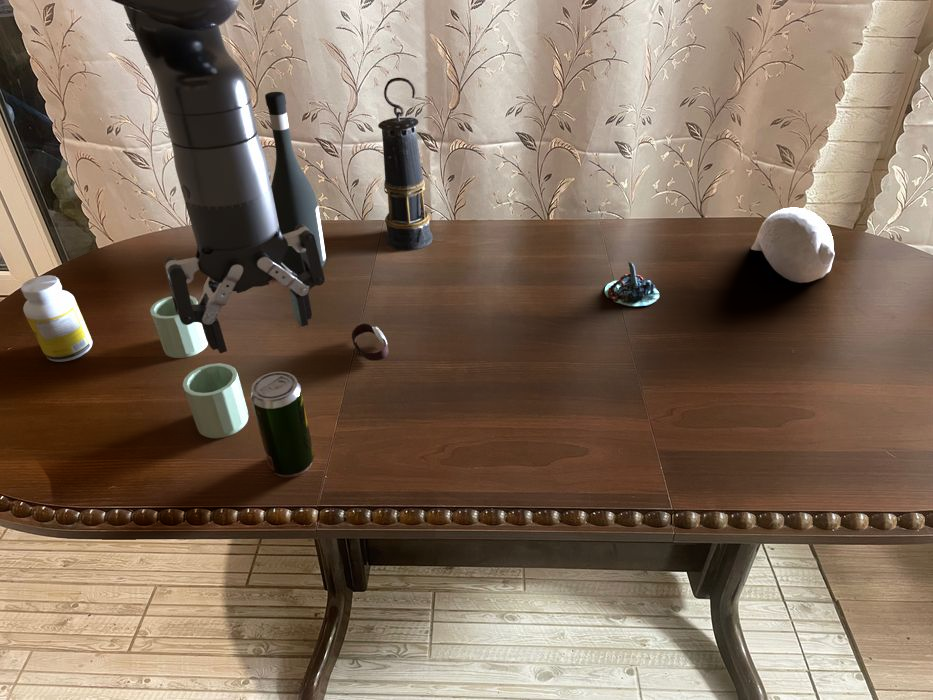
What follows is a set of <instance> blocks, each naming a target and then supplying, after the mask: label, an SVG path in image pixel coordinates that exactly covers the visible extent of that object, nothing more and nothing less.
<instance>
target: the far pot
mask: <svg viewBox="0 0 933 700" xmlns="http://www.w3.org/2000/svg"><path fill="white" fill-rule="evenodd" d="M189 296H190V301H191V304H198V302H199V301H198V300H197V298H196V297H194V296H192V295H189ZM149 313H150V316H151V319H152V322H153V324H154V328H155V330H156V333H157V336H158V339H159V341H160V345H161V348H162V350H163V353H164V354H165V355H166V356H167V357H169V358H173V359H185V358H186V359H187V358H189V357H193V356H196V355H198V354H200V353H201V352H203V351H204V350H205V349H207V347H208V346H209V344H208V342H207V340H206V337H205V334H204V330H203V327H202V324H201V323H198V322H193V323H192V324H190V325H184V324H183V323H182V322H181V320H180V317H179V315H178V314H177V312H176V310H175V306H174V302H173V298H172V295H170V296H166V297H163V298H161V299H159V300H157V301H156V302H154V303H153V304H152V305H151V307H150V310H149Z"/></svg>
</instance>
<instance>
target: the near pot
mask: <svg viewBox="0 0 933 700" xmlns="http://www.w3.org/2000/svg"><path fill="white" fill-rule="evenodd" d="M182 389H183V392H184V395H185V397H186V400H187V404H188V406H189V409H190V412H191V415H192V418H193V421H194V424H195V427H196V430H197V431H198V433H199V434H200V435H201V436H203V437H205V438H210V439H221V438H222V439H223V438H226V437H230V436H232V435H234V434H237V433H238V432H240V431H241V430H242V429H243V428H244V427H245V426H246V425H247V423H248V421H249V411H248V407H247V403H246V400H245V395H244V392H243V388H242V384H241V381H240V377H239V374H238V371H237V370H236V368H235V367H234V366H232V365H230V364H226V363H220V362H219V363H218V362H217V363H210V364H205V365H203V366H199V367H197V368H195V369H193V370H191V371H190V372H189V373H188V374H187V375H186V376H185V377H184V378H183V382H182Z"/></svg>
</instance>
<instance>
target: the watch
mask: <svg viewBox="0 0 933 700" xmlns="http://www.w3.org/2000/svg"><path fill="white" fill-rule="evenodd" d="M364 333H371V334H373V335H375V337H376V339H378V341H379V342H380V344H381V345H382V346H384V347H383V348H382V349H381V350H379V351H377V352H368V351H365V350H363V349H361V348H360V346H359V345H358V343H357V340H358V338H359V337H360V336H361V335H362V334H364ZM351 340H352V344H353V346H354V348H355V351H356V353H358V354H359V355H361V356H362V357H363V358H365V359H366V360H369V361H373V362H374V361H375V362H376V361H381V360H383V359H385V358H386V357H387V356H388V354H389V352H390V351H389V347H388V345H389V344H388V340H387V339H386V336H385V335H384V333H383V332H382V330H381V329H380V328H379V327H378V326H377V325H376V326H372V325H371V324H369V323H361V324H359V325H357V326H356V327H354V329H353V330H352V332H351Z"/></svg>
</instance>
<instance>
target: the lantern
mask: <svg viewBox="0 0 933 700" xmlns="http://www.w3.org/2000/svg"><path fill="white" fill-rule="evenodd" d="M395 82H404V83H407V84H408V85H409V86H410V88H411V91H412V93H411V94H412V96H411V98H412V99H416V88H415V86H414V84H413V83H412V82H411V81H410V80H409V79H407V78H405V77H393V78H391V79H389V80H388V81H387V82H386V83H385V86H384V89H383V96H384V100H385V101H386V103H387V104H388V105H389V106H391V107H393V114H394V115H395V116H396V117H391V118H387V119H383V120H382V121H381V122H379V123H378V124H377V125H378V126H377V127H378V129H380V130H381V137H382V149H383V150H382V152H383V167H384V183H383V186H384V187H383V191H384V193H385V194H387V204H388V206H387V208H388V213H387V214H386V216H385V218H384V223H385V226H386V235H385V242H386V244H387V245H388V246H389V247H390V248H393V249H395V250H402V251H414V250H415V251H416V250H420V249H424V248H427V247H428V246H429V245H431V244H432V242H433V238H434V237H433V233H432V231H431V226H430V219H431V216H430V214H429V213H428V212H427V211H426V209H425V200H424V199H425V198H424V191H425V189H426V185H425V183H426V182H425V179H424V176H423V169H422V164H421V158H420V150H419V143H418V136H417V135H418V134H417V126H418V125H419V123H420V121H419V120H418V119H417V118H415V117H408V116H407V117H403V116H404V114H405V110H404V108H403V107H402V106H400V105H399V104H396V103H393V102H392V101H391V100H390V99H389V97H388V94H387V93H388V89H389V86H390V84H392V83H395ZM397 109H399V110H400V111H397Z"/></svg>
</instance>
